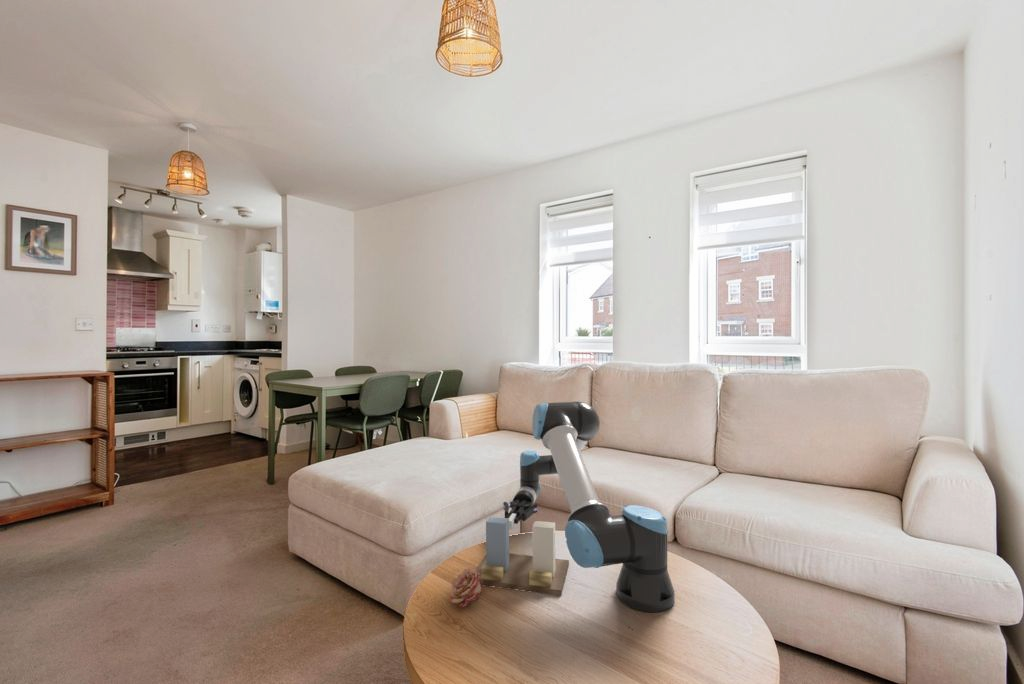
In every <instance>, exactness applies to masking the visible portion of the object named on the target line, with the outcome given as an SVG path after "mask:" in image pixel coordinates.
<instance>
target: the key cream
mask: <svg viewBox="0 0 1024 684" xmlns="http://www.w3.org/2000/svg"><path fill="white" fill-rule="evenodd" d="M531 527H532V556H533V571H539V572H548V573H552V577H554V574H555V570H556V559H557V558H556V522H552V521H551V522H550V521H539V520H535V521H534V522H533V524H532V526H531Z"/></svg>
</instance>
